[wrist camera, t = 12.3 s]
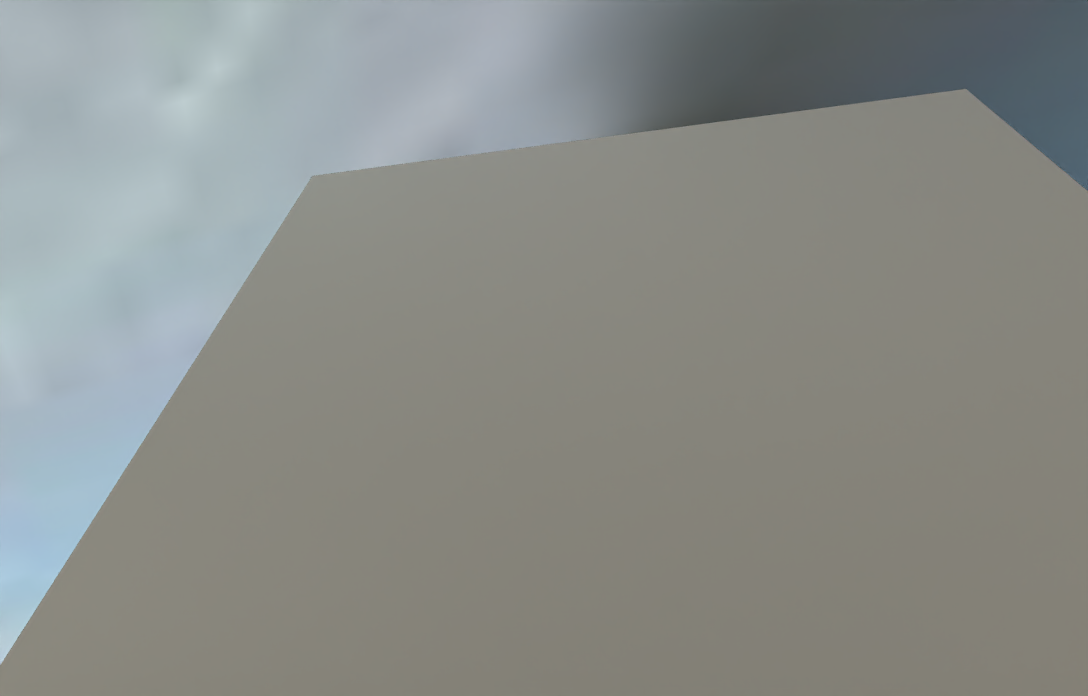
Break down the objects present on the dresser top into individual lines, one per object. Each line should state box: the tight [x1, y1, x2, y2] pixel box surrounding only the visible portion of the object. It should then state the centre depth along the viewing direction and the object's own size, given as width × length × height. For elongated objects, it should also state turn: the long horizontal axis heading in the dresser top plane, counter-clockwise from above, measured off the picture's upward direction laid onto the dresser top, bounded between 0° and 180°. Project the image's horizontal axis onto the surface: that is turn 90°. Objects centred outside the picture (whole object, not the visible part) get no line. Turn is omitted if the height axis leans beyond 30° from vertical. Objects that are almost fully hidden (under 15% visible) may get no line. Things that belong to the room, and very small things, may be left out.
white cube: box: [0, 89, 1088, 696], centre depth 8 cm, size 8×8×8 cm
